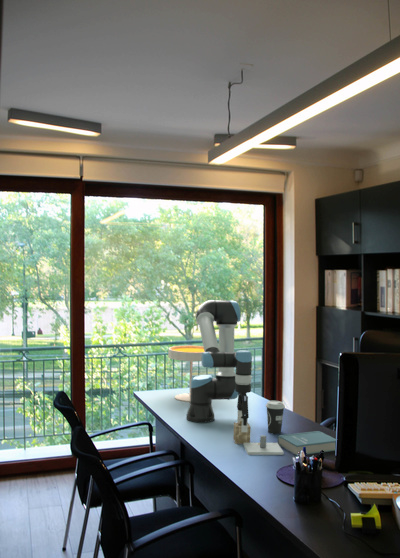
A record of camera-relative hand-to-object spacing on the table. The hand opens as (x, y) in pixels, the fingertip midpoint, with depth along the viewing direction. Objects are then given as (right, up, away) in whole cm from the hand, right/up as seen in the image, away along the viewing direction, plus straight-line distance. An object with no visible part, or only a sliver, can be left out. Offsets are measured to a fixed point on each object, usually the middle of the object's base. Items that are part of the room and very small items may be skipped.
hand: (242, 428), depth 255 cm
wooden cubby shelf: (0, -7, +1) cm, 7 cm away
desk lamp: (-26, -5, +84) cm, 88 cm away
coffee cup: (+18, -7, +17) cm, 25 cm away
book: (+30, -8, -5) cm, 31 cm away
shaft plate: (+9, -7, -11) cm, 15 cm away
